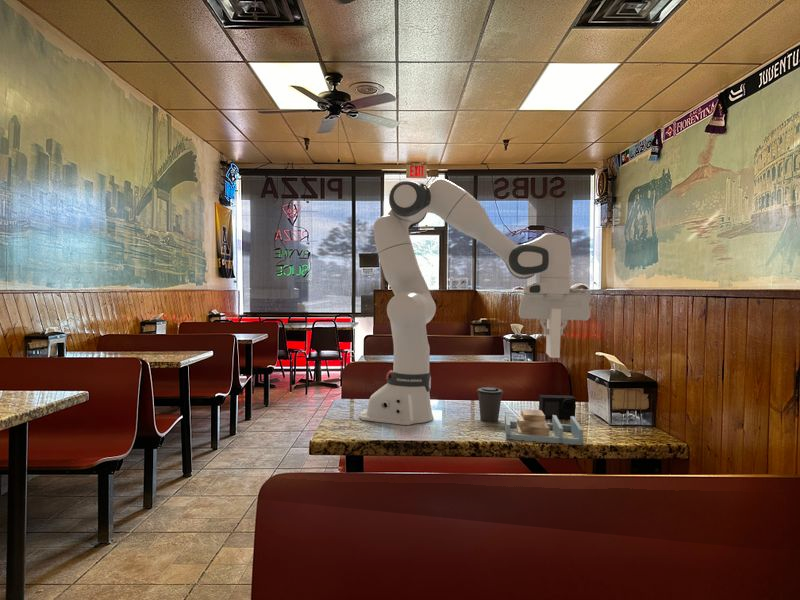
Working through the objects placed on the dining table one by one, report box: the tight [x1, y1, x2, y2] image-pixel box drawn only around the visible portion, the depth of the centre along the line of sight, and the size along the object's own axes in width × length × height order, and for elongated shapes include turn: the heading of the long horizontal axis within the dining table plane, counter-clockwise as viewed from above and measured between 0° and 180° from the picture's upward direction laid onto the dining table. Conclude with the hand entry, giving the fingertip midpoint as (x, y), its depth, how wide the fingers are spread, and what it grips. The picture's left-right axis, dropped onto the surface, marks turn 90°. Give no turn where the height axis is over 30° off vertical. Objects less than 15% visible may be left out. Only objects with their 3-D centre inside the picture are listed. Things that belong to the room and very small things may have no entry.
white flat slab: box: [545, 308, 562, 359], centre depth 151 cm, size 2×12×14 cm, turn 170°
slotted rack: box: [504, 411, 584, 446], centre depth 142 cm, size 20×15×4 cm
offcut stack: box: [515, 408, 550, 436], centre depth 142 cm, size 8×10×6 cm
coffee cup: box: [476, 386, 504, 423], centre depth 157 cm, size 8×8×10 cm
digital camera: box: [538, 394, 577, 421], centre depth 161 cm, size 10×5×7 cm, turn 90°
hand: (553, 334), depth 151 cm, fingers closed on white flat slab, 2 cm apart
